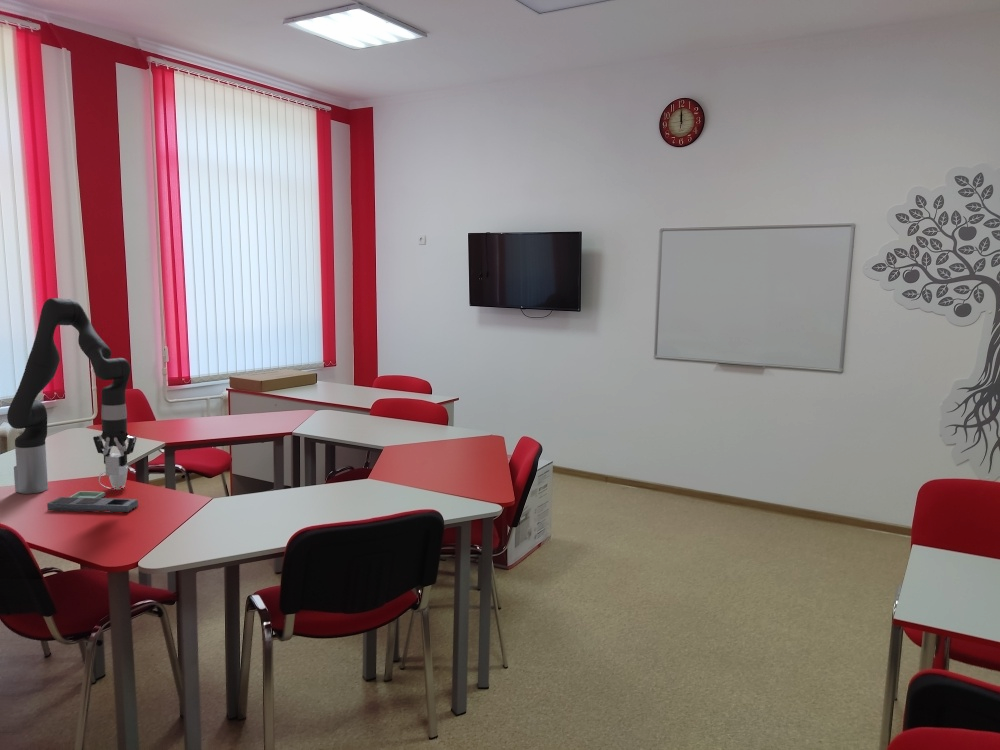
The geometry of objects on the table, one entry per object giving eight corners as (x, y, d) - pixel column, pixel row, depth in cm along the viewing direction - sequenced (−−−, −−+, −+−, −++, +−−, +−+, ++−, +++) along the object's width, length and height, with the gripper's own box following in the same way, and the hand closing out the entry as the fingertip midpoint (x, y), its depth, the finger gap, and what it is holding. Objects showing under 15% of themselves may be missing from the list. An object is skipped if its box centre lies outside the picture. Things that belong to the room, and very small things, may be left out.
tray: (65, 503, 244) (65, 499, 243) (80, 495, 253) (80, 491, 252) (91, 504, 244) (91, 499, 244) (105, 496, 253) (105, 491, 253)
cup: (131, 488, 262) (130, 467, 261) (101, 493, 256) (100, 472, 255) (126, 483, 268) (125, 463, 266) (97, 488, 261) (96, 467, 260)
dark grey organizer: (47, 510, 236) (47, 503, 236) (60, 503, 243) (59, 496, 243) (127, 512, 237) (127, 505, 236) (137, 506, 244) (137, 499, 243)
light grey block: (105, 475, 236) (105, 456, 235) (112, 471, 240) (112, 453, 240) (119, 475, 236) (118, 457, 235) (126, 471, 241) (125, 453, 240)
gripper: (86, 418, 231) (88, 467, 234) (129, 420, 232) (131, 469, 234) (99, 413, 239) (100, 461, 241) (140, 415, 239) (142, 463, 242)
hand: (115, 465), depth 238 cm, fingers closed on light grey block, 4 cm apart
